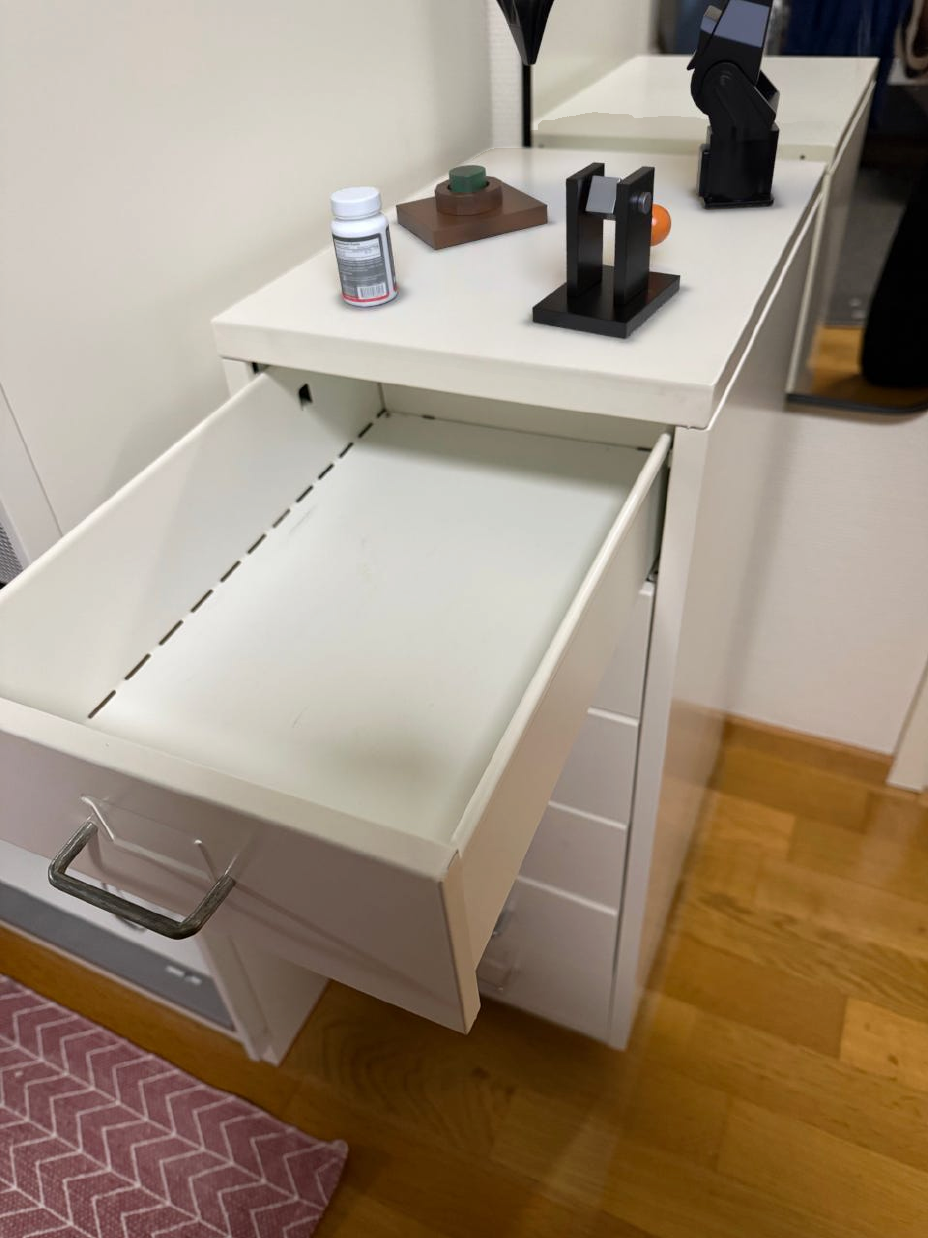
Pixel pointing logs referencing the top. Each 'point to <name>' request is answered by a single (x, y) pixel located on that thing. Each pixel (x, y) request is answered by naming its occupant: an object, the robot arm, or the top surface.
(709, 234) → the top surface
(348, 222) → the pill bottle
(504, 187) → the button block
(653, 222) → the switch lever
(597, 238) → the switch bracket
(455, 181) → the button
